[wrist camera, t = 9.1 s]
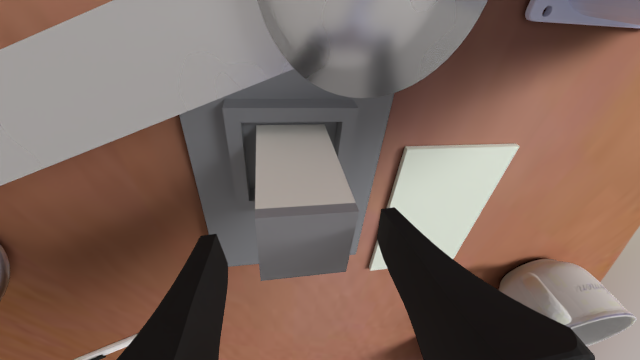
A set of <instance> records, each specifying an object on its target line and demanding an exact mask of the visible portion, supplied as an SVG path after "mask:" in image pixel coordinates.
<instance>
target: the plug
mask: <svg viewBox="0 0 640 360" xmlns="http://www.w3.org/2000/svg"><path fill="white" fill-rule="evenodd" d="M358 214H359V210H358V207H357V205H356V202H355V200H354V197H353V195H352V192H351V190H350V187H349V185H348V182H347V180H346V177H345V175H344V172H343V170H342V167H341V165H340V162H339V160H338V157H337V155H336V152H335V150H334V147H333V145H332V142H331V140H330V137H329V135H328V132H327V130H326V127H325V125H324V124H317V125H256V178H255V225H256V236H257V246H258V256H259V267H260V277H261V281H263V280H273V279H282V278H291V277H300V276H310V275H319V274H328V273H337V272H346V269H347V264H348V260H349V255H350V251H351V246H352V241H353V237H354V232H355V228H356V223H357V219H358Z"/></svg>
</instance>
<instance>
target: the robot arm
mask: <svg viewBox="0 0 640 360" xmlns="http://www.w3.org/2000/svg"><path fill="white" fill-rule="evenodd" d="M545 8H546V11H545V12H544V14H542V13H543V10H544V9H545ZM525 17H526V19H527V20H529V21H535V22H550V23H565V24H580V25H595V26H610V27H625V28H640V0H530V2H529V5H528V7H527V9H526V12H525ZM377 241H378V244H379V247H380V250H381V253H382V256H383V259H384V262H385V264H386V266H387V268H388V271H389V273H390V275H391V277H392V279H393V281H394V284H395V286H396V288H397V290H398V292H399V294H400V297H401V299H402V301H403V303H404V305H405V308H406V310H407V312H408V315H409V318H410V320H411V323H412V326H413V329H414V332H415V335H416V338H417V341H418V344H419V347H420V350H421V353H422V356H423V359H424V360H595V356H594V355H593V353H592V352H591V351H590V350H589V349H588V348H587V346H586V345H585V344H584V343H583V342H582V340H581V339H580V338H579V337H578V336H577V335H576V334H575V332H574V331H573V330H572V329H571V328H570V327H567V326H565V325H563V324H561V323H559V322H557V321H555V320H553V319H551V318H549V317H547V316H545V315H543V314H541V313H539V312H537V311H535V310H533V309H531V308H529V307H527V306H525V305H523V304H522V303H520V302H518V301H516V300H514V299H513V298H511V297H509V296H507V295H506V294H504V293H502V292H501V291H499V290H497V289H496V288H494V287H492V286H491V285H489V284H488V283H486V282H484V281H483V280H481V279H480V278H478V277H477V276H475V275H474V274H472V273H471V272H469V271H468V270H467V269H465V268H464V267H462V266H461V265H460V264H458V263H457V262H456V261H454V260H453V259H452V258H451V257H449V256H448V255H447V254H446V253H444V252H443V251H442V250H441V249H439V248H438V247H437V246H436V245H435V244H434V243H432V242H431V241H430V240H429V239H428V238H427V237H426V236H425V235H423V234H422V233H421V232H420V231H419V230H418V229H417V228H416V227H415V226H414V225H413V224H412V223H411V222H409V221H408V220H407V219H406V218H405V217H404V216H403V215H402V214H401V213H400V212H399V211H398V210H397V209H396V208H395V207H392V208H385V209H381V215H380V222H379V229H378V235H377ZM227 285H228V262H227V259H226V257H225V254H224V252H223V249H222V247H221V244H220V242H219V239H218V237H217V234H211V235H204V236H201V237H200V238H199V240H198V242H197V244H196V245H195V247H194V249H193V251H192V253H191V255H190V256H189V258H188V260H187V262H186V263H185V265H184V267H183V269H182V270H181V272H180V274H179V275H178V277H177V278H176V280H175V282H174V283H173V285H172V287H171V288H170V290H169V291H168V293H167V294H166V296H165V297H164V299H163V300H162V302H161V303H160V305H159V306H158V308H157V309H156V310H155V312H154V313H153V315H152V316H151V317H150V319H149V320H148V321H147V323H146V324H145V325H144V327H143V328H142V329H141V330H140V332H139V333H138V334H137V336H136V337H135V338H134V339H133V340H132V342H131V343H130V344H129V345H128V347H127V348H126V349H125V350H124V351H123V353H122V354H121V355H120V356H119V357H118V358H117V360H218V358H219V345H220V337H221V330H222V322H223V315H224V308H225V301H226V294H227Z"/></svg>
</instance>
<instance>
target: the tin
mask: <svg viewBox="0 0 640 360" xmlns="http://www.w3.org/2000/svg"><path fill="white" fill-rule="evenodd" d="M9 279H10V264H9V259H8V257H7V254H6V252H5V250H4V249H3V247H2V246H1V244H0V301H1V299H2V297H3V296H4V294H5V292H6V289H7V286H8V283H9Z"/></svg>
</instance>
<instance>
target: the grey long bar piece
mask: <svg viewBox="0 0 640 360" xmlns="http://www.w3.org/2000/svg"><path fill="white" fill-rule="evenodd" d="M487 1H488V0H113V1H111V2H108V3H106V4H104V5H102V6H99V7H97V8H95V9H92V10H90V11H88V12H85V13H83V14H81V15H79V16H76V17H74V18H72V19H69V20H67V21H65V22H63V23H60V24H58V25H56V26H53V27H51V28H49V29H46V30H44V31H42V32H40V33H37V34H35V35H33V36H30V37H28V38H26V39H23V40H21V41H19V42H17V43H14V44H12V45H10V46H7V47H5V48H3V49H0V186H1V185H3V184H6V183H8V182H11V181H14V180H16V179H19V178H21V177H24V176H26V175H29V174H31V173H34V172H36V171H39V170H41V169H44V168H46V167H49V166H51V165H54V164H56V163H59V162H61V161H64V160H66V159H69V158H71V157H74V156H76V155H79V154H81V153H84V152H86V151H89V150H91V149H94V148H96V147H99V146H101V145H104V144H106V143H109V142H112V141H114V140H117V139H119V138H122V137H124V136H127V135H129V134H132V133H134V132H137V131H139V130H142V129H144V128H147V127H149V126H152V125H154V124H157V123H159V122H162V121H164V120H167V119H169V118H172V117H174V116H177V115H179V114H182V113H184V112H187V111H189V110H192V109H194V108H197V107H199V106H202V105H205V104H207V103H210V102H212V101H215V100H217V99H220V98H222V97H225V96H227V95H230V94H232V93H235V92H237V91H240V90H242V89H245V88H247V87H250V86H252V85H255V84H257V83H260V82H262V81H265V80H267V79H270V78H272V77H275V76H277V75H280V74H282V73H285V72H287V71H290V70H292V69H295V70H296V71H297V72H298V73H299V74H300V75H301V76H303V77H304V78H305V79H307V80H308V81H310V82H311V83H312V84H314V85H316V86H318V87H320V88H322V89H323V90H326V91H328V92H331V93H334V94H336V95H341V96H346V97H352V98H374V97H379V96H385V95H389V94H392V93H395V92H398V91H401V90H403V89H405V88H407V87H410V86H412V85H414V84H415V83H417V82H419V81H420V80H422V79H424V78H425V77H426V76H428V75H429V74H431V73H432V72H433V71H435V70H436V69H437V68H438V67H439V66H440V65H441V64H443V63H444V62H445V61H446V60H447V59H448V58H449V57H450V56H451V55H452V54H453V52H454V51H455V50H456V49H457V48H458V47H459V46H460V44H461V43H462V42H463V40H464V39H465V38H466V37H467V35H468V34H469V32H470V31H471V29H472V28H473V26H474V25H475V23H476V21H477V20H478V18H479V16H480V14H481V12H482V11H483V9H484V7H485V5H486V3H487Z"/></svg>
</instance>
